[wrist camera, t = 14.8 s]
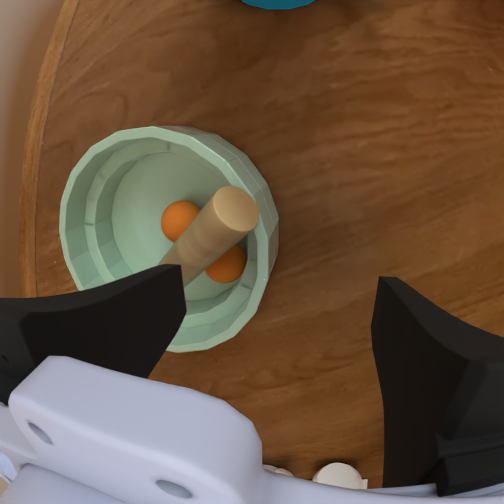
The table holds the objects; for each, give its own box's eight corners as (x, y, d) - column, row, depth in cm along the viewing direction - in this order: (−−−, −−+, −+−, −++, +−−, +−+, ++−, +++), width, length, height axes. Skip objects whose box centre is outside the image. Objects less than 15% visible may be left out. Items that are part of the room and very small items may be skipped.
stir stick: (167, 298, 21) (234, 239, 14) (147, 268, 21) (203, 194, 14) (194, 281, 22) (268, 220, 15) (175, 253, 22) (239, 179, 15)
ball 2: (238, 277, 23) (253, 284, 20) (199, 281, 22) (209, 288, 19) (237, 237, 22) (252, 239, 20) (197, 239, 21) (207, 241, 19)
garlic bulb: (363, 503, 27) (343, 472, 32) (372, 486, 25) (348, 451, 29) (321, 523, 26) (303, 490, 31) (324, 509, 23) (303, 471, 28)
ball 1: (197, 192, 21) (189, 228, 23) (158, 193, 20) (152, 230, 21) (216, 213, 20) (206, 251, 21) (173, 214, 18) (166, 254, 19)
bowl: (278, 322, 24) (267, 365, 19) (116, 302, 27) (84, 332, 22) (279, 122, 19) (267, 118, 14) (92, 137, 22) (48, 144, 17)
